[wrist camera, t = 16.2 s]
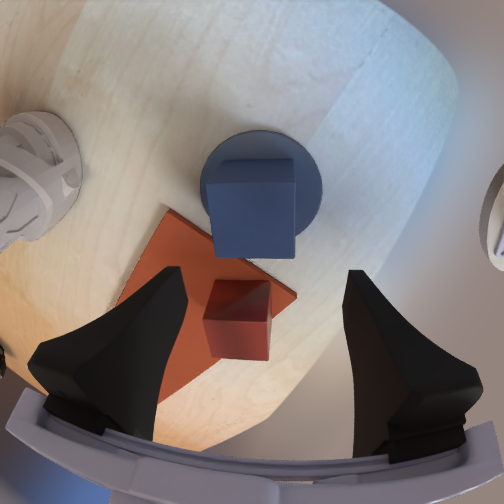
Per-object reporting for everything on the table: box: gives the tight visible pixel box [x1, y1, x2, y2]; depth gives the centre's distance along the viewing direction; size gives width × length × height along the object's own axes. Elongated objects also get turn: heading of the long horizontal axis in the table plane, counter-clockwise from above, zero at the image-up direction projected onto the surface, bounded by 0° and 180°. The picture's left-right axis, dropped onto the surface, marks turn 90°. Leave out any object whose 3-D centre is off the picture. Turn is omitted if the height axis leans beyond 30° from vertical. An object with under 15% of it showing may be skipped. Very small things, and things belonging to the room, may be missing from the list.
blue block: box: [205, 159, 296, 259], centre depth 16 cm, size 4×4×4 cm
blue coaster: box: [200, 130, 322, 236], centre depth 18 cm, size 8×8×1 cm
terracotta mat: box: [115, 209, 297, 404], centre depth 31 cm, size 40×12×1 cm, turn 144°
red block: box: [202, 280, 272, 361], centre depth 21 cm, size 4×4×4 cm
